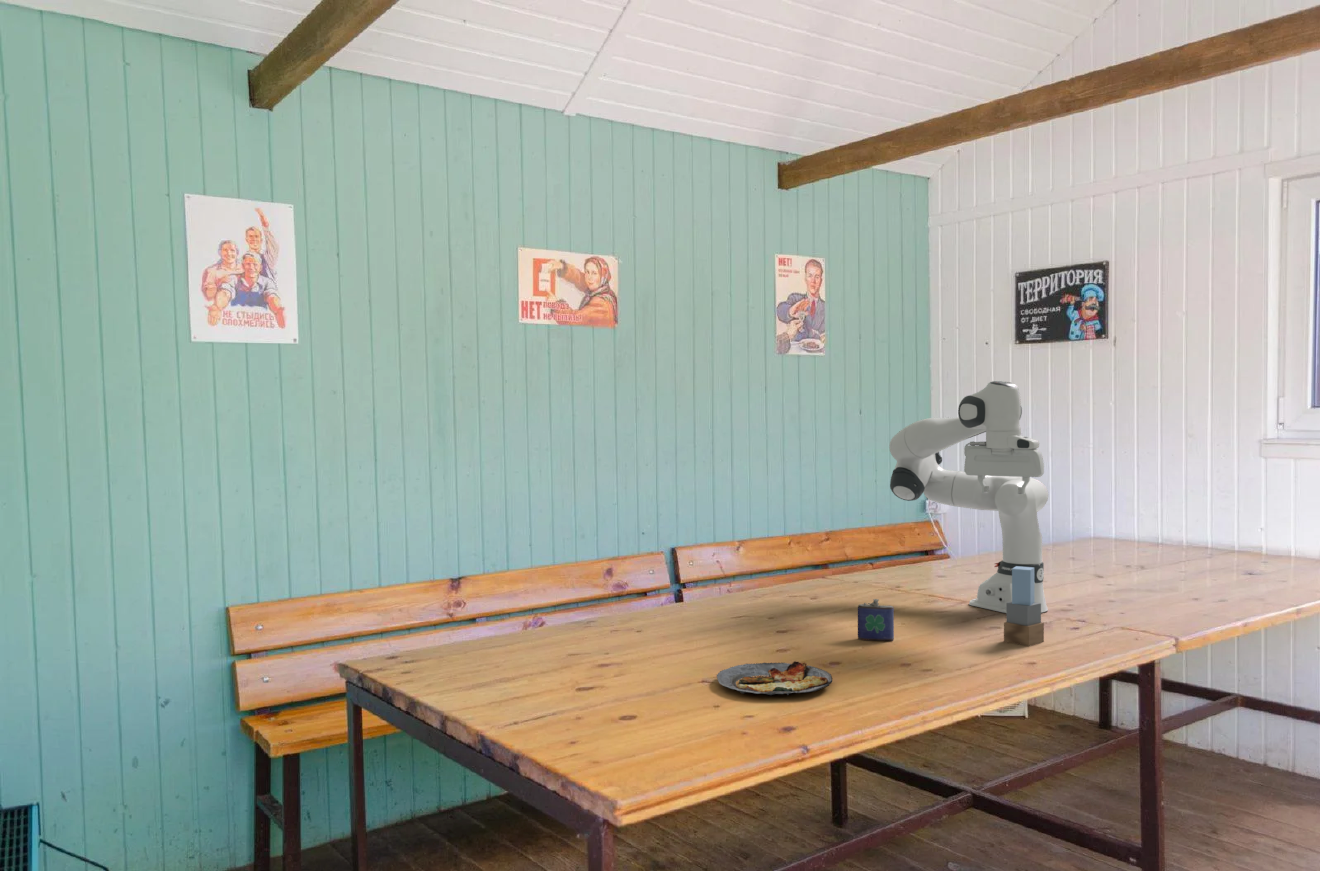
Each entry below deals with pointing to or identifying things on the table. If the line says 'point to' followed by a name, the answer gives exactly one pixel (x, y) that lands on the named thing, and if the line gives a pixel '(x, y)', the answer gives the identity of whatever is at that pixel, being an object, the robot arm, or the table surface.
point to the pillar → (1023, 585)
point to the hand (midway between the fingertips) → (1003, 493)
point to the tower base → (1024, 633)
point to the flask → (875, 622)
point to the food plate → (775, 678)
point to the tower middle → (1023, 613)
